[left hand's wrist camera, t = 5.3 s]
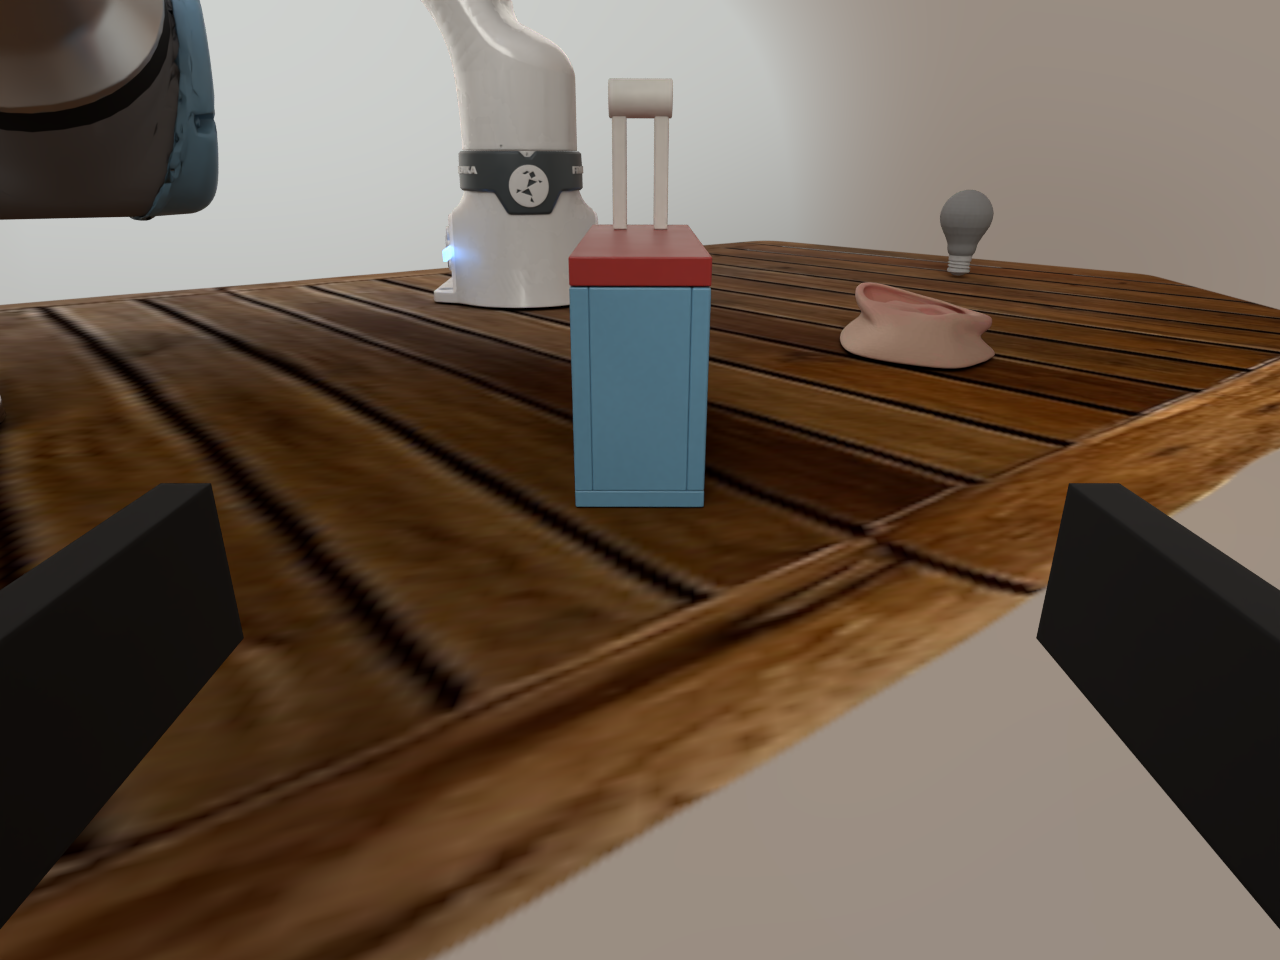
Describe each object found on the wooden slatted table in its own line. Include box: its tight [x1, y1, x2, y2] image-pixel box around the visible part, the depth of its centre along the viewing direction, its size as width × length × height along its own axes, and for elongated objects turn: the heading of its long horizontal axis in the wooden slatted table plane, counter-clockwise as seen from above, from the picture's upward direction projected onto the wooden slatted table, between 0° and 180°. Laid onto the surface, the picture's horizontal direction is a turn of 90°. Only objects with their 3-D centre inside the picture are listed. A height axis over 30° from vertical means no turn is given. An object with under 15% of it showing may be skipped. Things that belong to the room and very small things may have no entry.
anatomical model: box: [840, 282, 995, 369], centre depth 61 cm, size 13×4×12 cm
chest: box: [569, 286, 711, 507], centre depth 39 cm, size 15×5×9 cm, turn 0°
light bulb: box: [940, 190, 993, 275], centre depth 98 cm, size 6×6×10 cm
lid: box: [568, 79, 712, 286], centre depth 36 cm, size 16×5×8 cm, turn 0°
